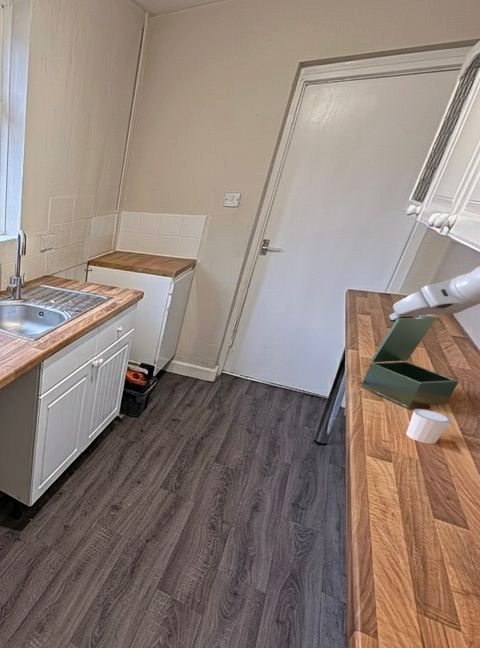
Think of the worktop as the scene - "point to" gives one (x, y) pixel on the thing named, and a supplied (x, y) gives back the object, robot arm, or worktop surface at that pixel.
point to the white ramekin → (427, 426)
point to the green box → (408, 384)
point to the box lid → (402, 338)
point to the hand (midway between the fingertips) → (405, 317)
